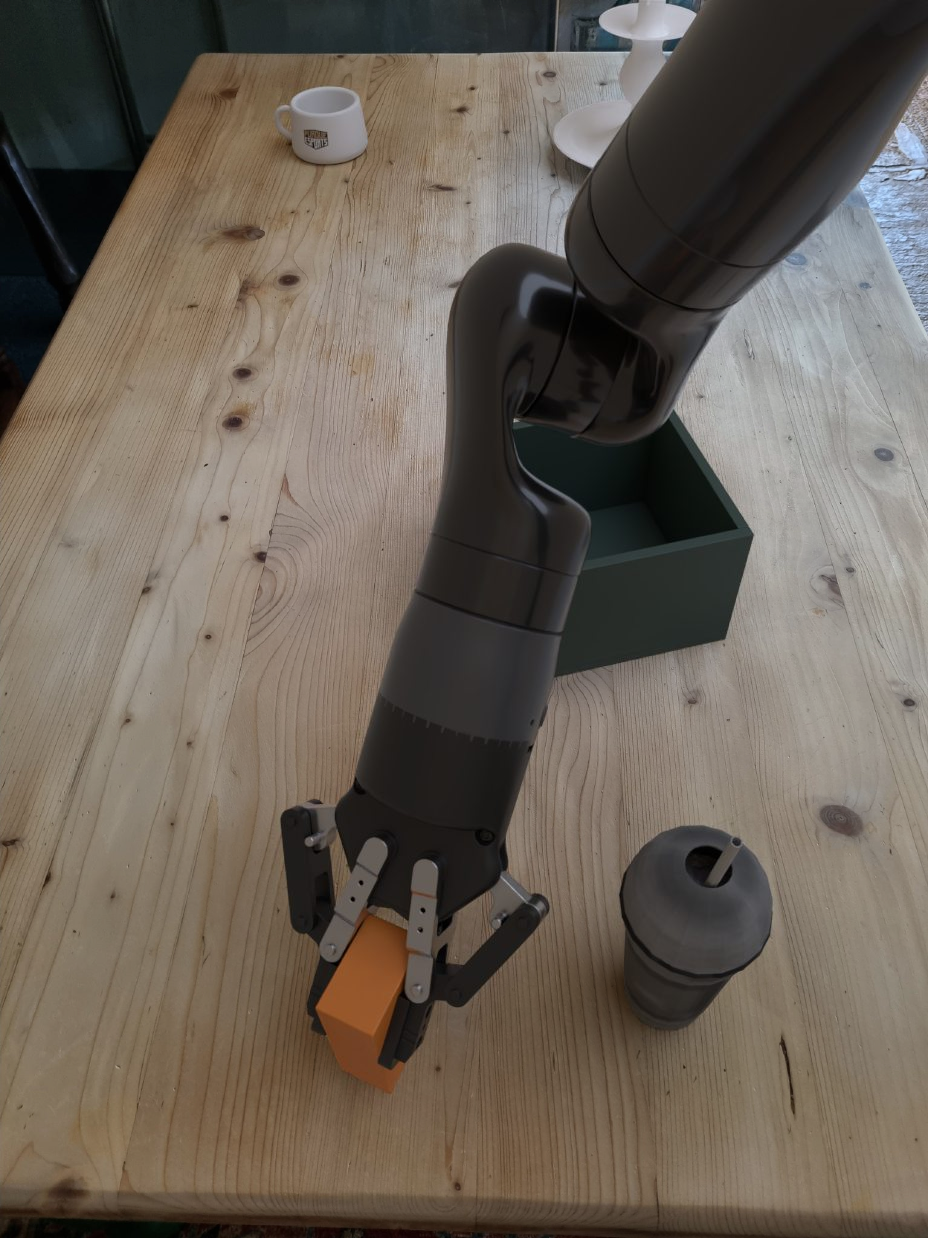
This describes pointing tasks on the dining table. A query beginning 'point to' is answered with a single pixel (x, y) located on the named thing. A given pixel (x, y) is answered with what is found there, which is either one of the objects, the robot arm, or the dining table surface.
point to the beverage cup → (690, 921)
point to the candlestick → (623, 76)
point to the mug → (325, 125)
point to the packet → (366, 1000)
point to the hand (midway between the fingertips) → (359, 1042)
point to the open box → (643, 544)
